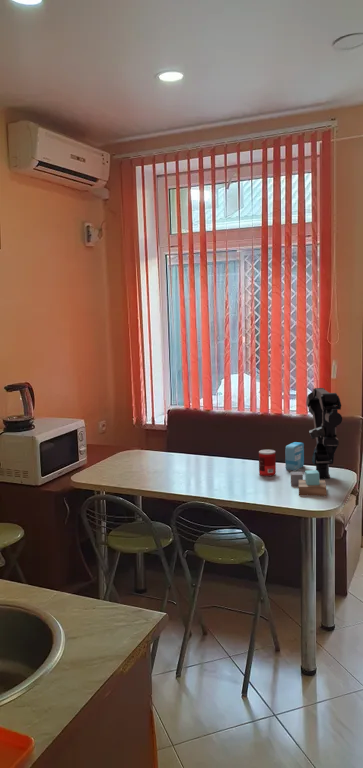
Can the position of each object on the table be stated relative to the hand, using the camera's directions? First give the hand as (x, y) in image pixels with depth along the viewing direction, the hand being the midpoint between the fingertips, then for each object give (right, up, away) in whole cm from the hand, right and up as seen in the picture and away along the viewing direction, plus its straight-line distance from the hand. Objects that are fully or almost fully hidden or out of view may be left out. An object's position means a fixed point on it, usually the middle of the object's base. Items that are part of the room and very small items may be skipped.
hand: (329, 457), depth 253 cm
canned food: (-24, -11, +20) cm, 33 cm away
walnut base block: (-9, -14, -9) cm, 19 cm away
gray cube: (-14, -12, +3) cm, 19 cm away
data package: (-9, -9, +30) cm, 33 cm away
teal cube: (-9, -10, -10) cm, 17 cm away
